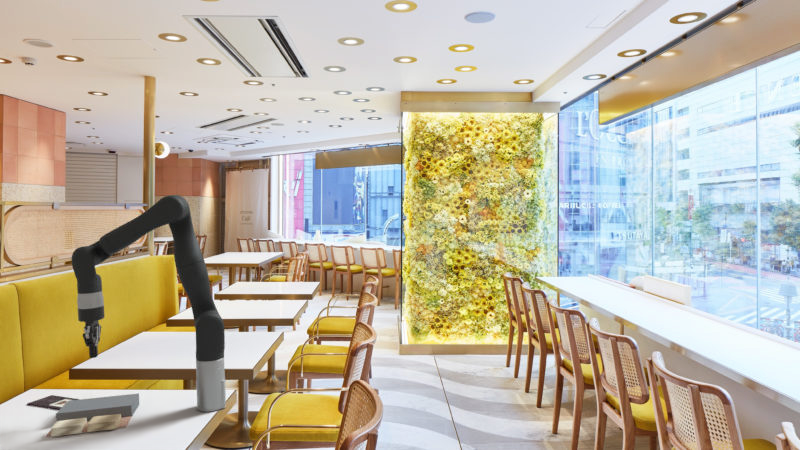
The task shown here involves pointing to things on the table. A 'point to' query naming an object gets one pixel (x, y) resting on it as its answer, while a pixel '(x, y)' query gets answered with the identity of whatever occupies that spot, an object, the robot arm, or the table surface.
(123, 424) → the rubber mat
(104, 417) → the oak tile
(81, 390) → the table surface
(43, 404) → the chocolate bar
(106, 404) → the slate board
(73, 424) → the birch tile
